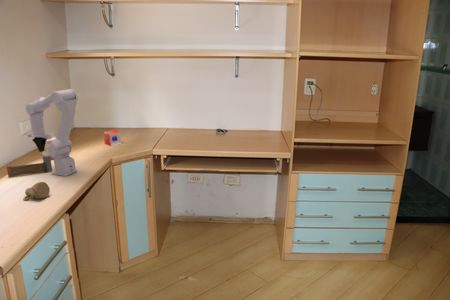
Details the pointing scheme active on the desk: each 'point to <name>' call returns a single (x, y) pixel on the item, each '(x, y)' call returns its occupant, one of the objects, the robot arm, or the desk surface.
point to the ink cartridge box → (47, 144)
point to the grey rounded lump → (37, 191)
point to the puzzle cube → (112, 138)
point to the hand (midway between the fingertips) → (41, 151)
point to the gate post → (47, 163)
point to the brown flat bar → (26, 169)
